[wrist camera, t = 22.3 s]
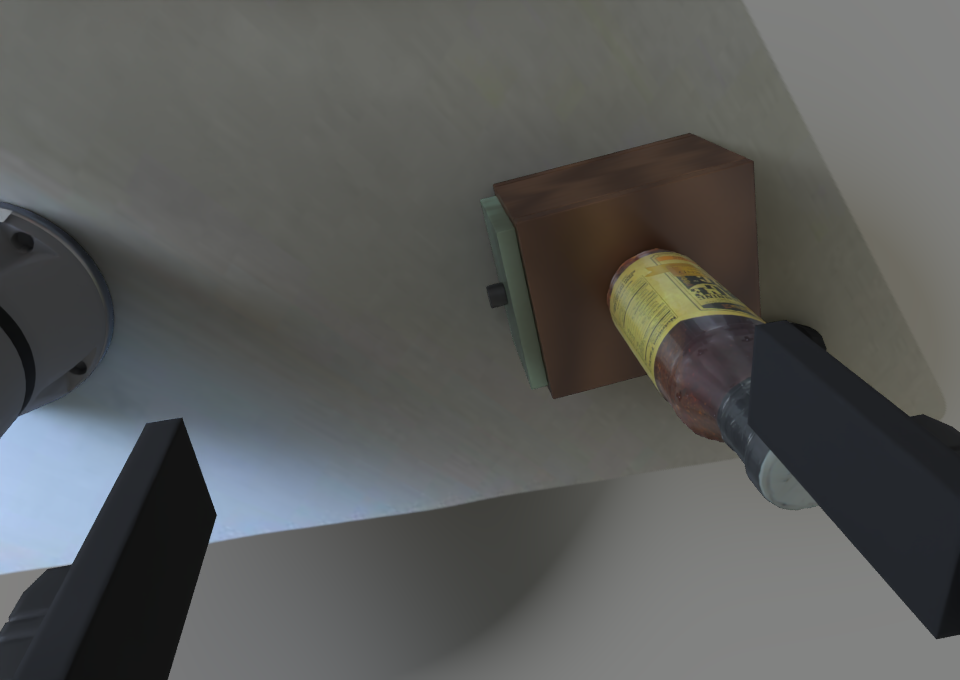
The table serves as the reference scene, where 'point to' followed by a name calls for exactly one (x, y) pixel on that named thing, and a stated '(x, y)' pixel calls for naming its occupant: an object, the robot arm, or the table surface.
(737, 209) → the cabinet
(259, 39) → the table surface
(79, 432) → the table surface
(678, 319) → the sauce bottle
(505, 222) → the drawer
